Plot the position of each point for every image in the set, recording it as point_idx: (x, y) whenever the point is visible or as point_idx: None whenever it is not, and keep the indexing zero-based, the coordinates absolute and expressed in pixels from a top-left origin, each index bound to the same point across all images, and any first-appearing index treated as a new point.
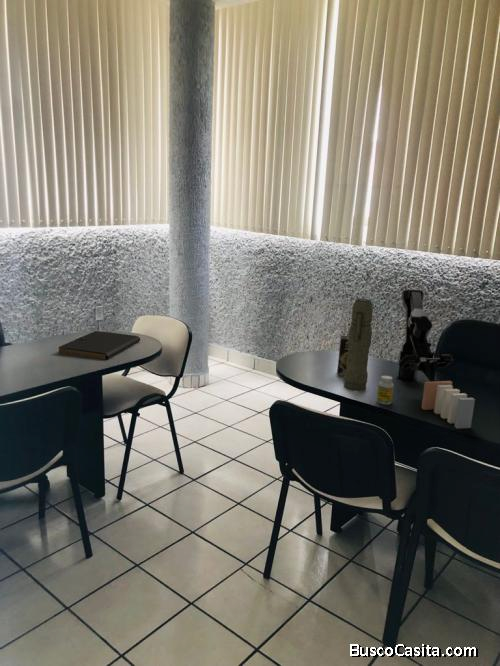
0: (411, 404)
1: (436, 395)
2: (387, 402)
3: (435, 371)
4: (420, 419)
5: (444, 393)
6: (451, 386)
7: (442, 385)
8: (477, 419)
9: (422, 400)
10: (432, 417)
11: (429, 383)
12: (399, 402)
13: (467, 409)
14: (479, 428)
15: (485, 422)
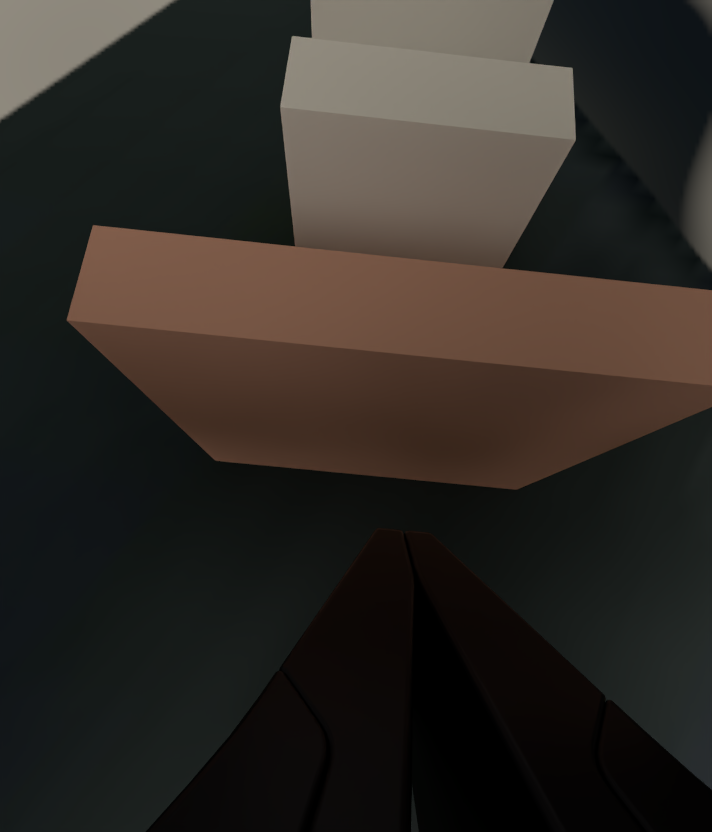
0: (577, 612)
1: (505, 256)
2: None
3: (287, 670)
4: (666, 252)
5: (541, 17)
6: (324, 40)
7: (475, 113)
8: (151, 151)
9: (552, 473)
10: (534, 265)
11: (674, 292)
12: (697, 706)
13: None
14: (282, 30)
15: (136, 94)
